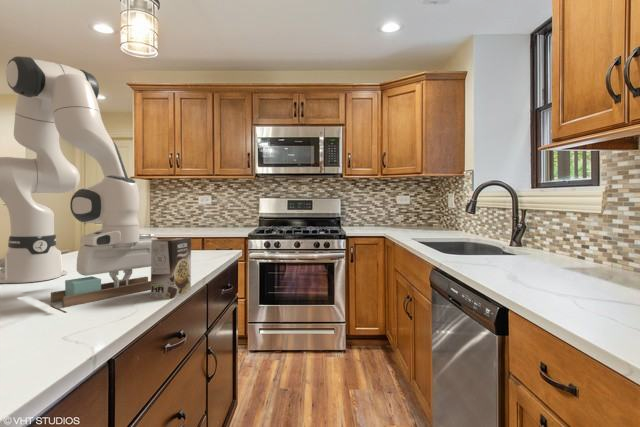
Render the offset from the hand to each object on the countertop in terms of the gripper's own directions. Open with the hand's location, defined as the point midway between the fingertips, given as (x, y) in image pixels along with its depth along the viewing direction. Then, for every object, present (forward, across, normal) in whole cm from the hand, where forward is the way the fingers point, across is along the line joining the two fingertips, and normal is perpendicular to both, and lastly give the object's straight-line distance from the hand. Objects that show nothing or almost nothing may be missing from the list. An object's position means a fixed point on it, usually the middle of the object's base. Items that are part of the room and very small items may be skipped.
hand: (121, 286), depth 96 cm
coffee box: (+3, -7, +12) cm, 14 cm away
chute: (+3, +3, 0) cm, 4 cm away
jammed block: (+2, +9, 0) cm, 9 cm away
